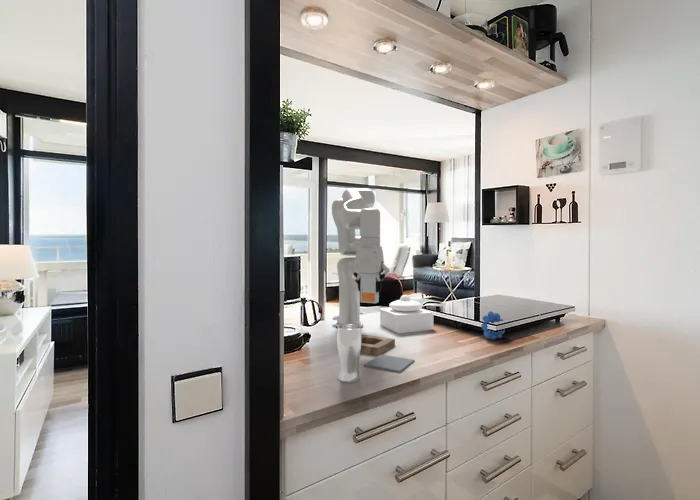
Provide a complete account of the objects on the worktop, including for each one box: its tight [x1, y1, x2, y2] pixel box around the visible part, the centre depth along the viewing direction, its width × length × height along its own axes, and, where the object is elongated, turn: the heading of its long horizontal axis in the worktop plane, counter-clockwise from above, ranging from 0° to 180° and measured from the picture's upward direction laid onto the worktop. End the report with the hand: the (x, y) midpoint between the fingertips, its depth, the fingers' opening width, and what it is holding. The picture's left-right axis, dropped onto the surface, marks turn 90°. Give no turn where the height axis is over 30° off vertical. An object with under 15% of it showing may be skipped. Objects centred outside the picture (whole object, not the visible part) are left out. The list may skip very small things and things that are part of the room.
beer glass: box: [336, 324, 362, 384], centre depth 105 cm, size 7×7×15 cm
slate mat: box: [363, 353, 415, 374], centre depth 117 cm, size 12×12×1 cm
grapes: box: [480, 311, 506, 340], centre depth 145 cm, size 12×7×12 cm, turn 115°
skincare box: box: [360, 273, 380, 304], centre depth 135 cm, size 6×4×12 cm
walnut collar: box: [360, 334, 396, 357], centre depth 136 cm, size 14×14×3 cm
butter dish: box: [378, 294, 434, 334], centre depth 167 cm, size 18×18×16 cm
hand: (369, 290), depth 135 cm, fingers closed on skincare box, 6 cm apart
